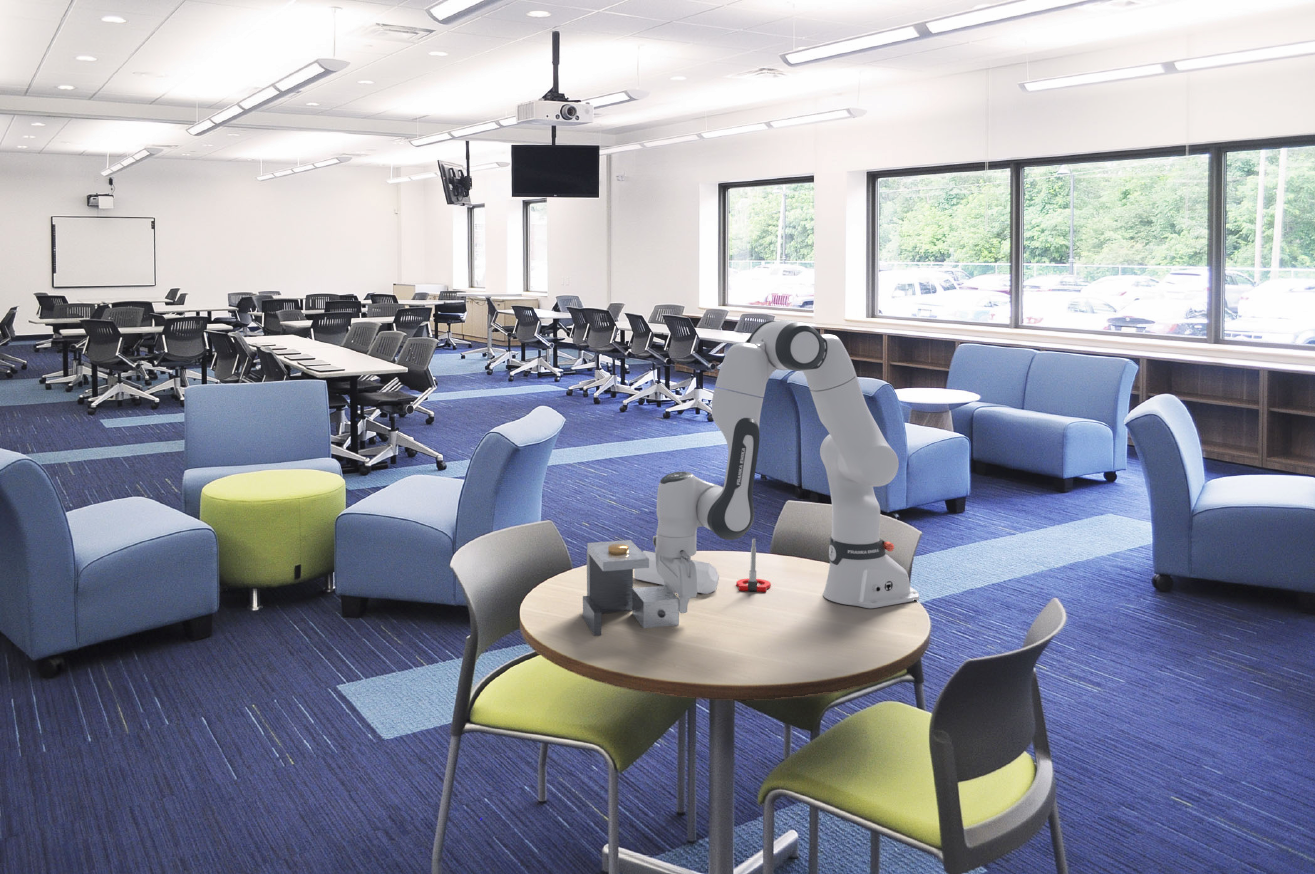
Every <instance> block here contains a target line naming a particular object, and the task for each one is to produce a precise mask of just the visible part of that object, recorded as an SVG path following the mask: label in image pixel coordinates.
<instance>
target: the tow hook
mask: <svg viewBox="0 0 1315 874" xmlns="http://www.w3.org/2000/svg"><path fill="white" fill-rule="evenodd" d="M756 559H757V548H756V538H752V539H751V547H750V570H749V573H748V575H749V576H748V577H749V578H742V579H738V580H737V581H736V585H735V586H736V587H738V591H741V592H743V591H744V592H748V593H749V592H750V593H752V592H753V593H755V592H756V593H757V592H758V593H759V592H760V593H766V592H767V590H768V589H770V588H771V587H772V584H771V582H770V581H768V580H766V579H761V578H757V570H756V564H757V562H756ZM758 584H759V585H758Z"/></svg>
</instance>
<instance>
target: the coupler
mask: <svg viewBox="0 0 1315 874" xmlns="http://www.w3.org/2000/svg"><path fill="white" fill-rule="evenodd" d="M586 544H587V550H586V595H582V619H583V620H584V622H585V623H586V625H587V627H588V628H589V630H590V631H591V632H592V634H593V636H594V637H595V636H602V614H608V613H618V612H630V611H632V588H634V569H639V568H649V558H648V557H647V556H646V555H645V554H644V553H643V551H642V550H641V549H640V548H639V546H637V545H636V543H634V542H633V541H632V540H631V539H626V540H612V541H598V542H587V543H586Z"/></svg>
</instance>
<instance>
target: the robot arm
mask: <svg viewBox="0 0 1315 874" xmlns="http://www.w3.org/2000/svg"><path fill="white" fill-rule="evenodd" d="M726 351H727V352H726V354H725V356H724V358H723V361H722V363H721V366H720V368H719V371H718V373H717V374H718V375H717V378H716V381H715V386H714V388H713V389H714V390H713V393H712V394H713V395H712V399H711V400H712V401H711V417H712V420H713V422H714V423H715V425H716V426H717V427H718V429H719V430H720V432H721V433H722V435H723V437H724V439H725V442H726V444H727V449H728V453H727V462H726V468H725V476H724V482H723V483H724V484H723V486H721V485H719V484H716V483H711V482H708V481H705V480H703V479H701V478H699V477H697V476H695V475H694V473H692V472H690V471H675V472H670V473H668V474H666V475H664V476H663V477H662V478H661V479H660V481H659V484H658V486H657V487H658V488H657V493H656V494H657V495H656V517H657V520H658V521H657V522H658V523H657V528H656V535H654V536H652V545H653V546H654V549H655V550H654V553H655V557H656V568H657V572H658V574H659V575H660V576H661V577H662V578H663V580H664V585H663V586H667V587H668V588H669V589H670V590H671V591H672V592H673V593H674V594H675V595H678V598H679V614H686V613H688V605H689V602H690V599H693V598H696V597H697V594H698V592H697V572H696V566H695V563H694V562H693V561H692V560H693V559H691V558H692V557H693V556H695V555H696V554H697V529H698V528H700V527H701V528H702V527H705V528H706V529H708V530H710V531H711V532H713V533H714V534H715V535H716V536H718V537H719V538H720V539H723V540H725V541H733V540H737V539H740V538H742V537H743V536H745V535H746V534H747V532H749V530H750V529H751V527H752V525H753V524H754V520H755V507H754V506H755V505H754V497H753V492H754V484H755V483H754V482H755V476H756V470H757V462H758V455H759V446H760V420H761V413H762V407H763V402H764V398H765V392H766V389H767V383H768V381H769V379H770V377H771V376H772V374H773V373H774V372H775V371H776V370H780V371H793V372H801V371H802V373H803V374H804V376H805V379H806V383H807V384H808V389H809V392H810V394H811V397H812V401H813V403H814V406H815V408H816V409H815V410H816V412H817V415H818V418H819V420H820V423H821V424H822V425H823V426H824V427H825V429H826V430H827V432H828V434H827V436H825V437H824V439H823V440H822V442H821V445H820V449H819V455H820V459H821V461H822V463H823V465H824V467H825V471H826V472H825V473H826V476H827V477H826V478H827V481H828V487H829V493H830V499H831V508H832V510H831V536H830V538H829V545H828V546H829V547H828V558H829V559H828V560H829V567H828V568H829V569H828V573H827V574H828V575H827V579H826V581H825V583H826V584H825V586H824V590H823V592H822V595H823V597H824V598H825V599H826V600H829V601H830V602H834V603H837V604H842V605H848V606H856V607H861V608H865V609H876V608H883V607H887V606H893V605H898V604H905V603H909V602H910V603H911V602H915V601H914V600H916V601H919V600H920V594H919V593H920V592H918V591H917V590H916V589H915V588H913V587H912V586H911V584H910V578H909V575H908V572H907V570H906V569H905V568H904V567H903V566H901V565H900V564H899V563H898V562H897V561H895V560H894V559H893V558H892V557H890V556H889V555H888V554H887V552H893V551H894V549H895V544H894V543H892V542H890V541H885V540H883V539H881V538H880V530H881V529H880V526H881V524H880V523H881V507H880V503H879V501H878V499H877V497H876V495H875V490H874V487H884V486H886V485H889V483H890V482H892V481H893V480H894V479H895V477H896V476H897V474H898V470H899V458H898V455H897V453H896V452H895V450H894V449H893V448H892V447H891V446H890V444H889V443H888V442H887V440H886V438H885V437H884V435H883V433H882V431H881V430H880V427H879V425H878V424H877V422H876V420H875V419H874V417H873V415H872V412H871V411H870V409H869V407H868V405H867V402H866V399H865V397H864V393H863V391H862V388H861V385H860V382H859V379H858V376H857V372H856V370H855V367H854V365H853V364H854V363H853V361H852V359H851V357H850V355H849V353H848V351H847V349H846V347H845V346H844V344H843V342H842V340H841V339H840V338H839V337H838V336H837V335H834V334H831V333H830V334H829V333H822V334H821V333H820V332H818V331H817V330H816V328H814V327H813V326H811V325H810V324H808V323H805V322H803V321H796V320H795V321H794V320H790V319H782V320H768V321H766V322H763V323H760V324H759V325H758V326H756V328H755V329H754V330H752V332H751V334H750V336H749V337H748V339H747V340H745V342H738V343H734V344H732V345H731V346H730V347H729V348H728V349H727V350H726ZM886 551H887V552H886ZM913 599H914V600H913Z"/></svg>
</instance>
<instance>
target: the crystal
mask: <svg viewBox="0 0 1315 874" xmlns="http://www.w3.org/2000/svg"><path fill="white" fill-rule="evenodd" d="M642 552H643V553H644V554H645V555H646V556H647V557H648V558H649V568H639V569H633V577H634V579H635V580H638V581H643V582H648V583H652V584H659V585H661V586H664V580H663V578H662V577H661V576H660V575H659V574H658V572H657V568H656V557H655V551H649V550H643V551H642ZM691 560H692V561H693V562H694V563H695V566H696V572H697V593H699V594H703V595H704V594H705V595H706V594H711V593H713V592H716V589H717V588H718V586H719V585H718V584H719V580H720V575H719V573H718V570H717V568H716V567H715V566H714V565H712V564H711V563H710V562H704V561H700V560H694V559H691Z"/></svg>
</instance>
